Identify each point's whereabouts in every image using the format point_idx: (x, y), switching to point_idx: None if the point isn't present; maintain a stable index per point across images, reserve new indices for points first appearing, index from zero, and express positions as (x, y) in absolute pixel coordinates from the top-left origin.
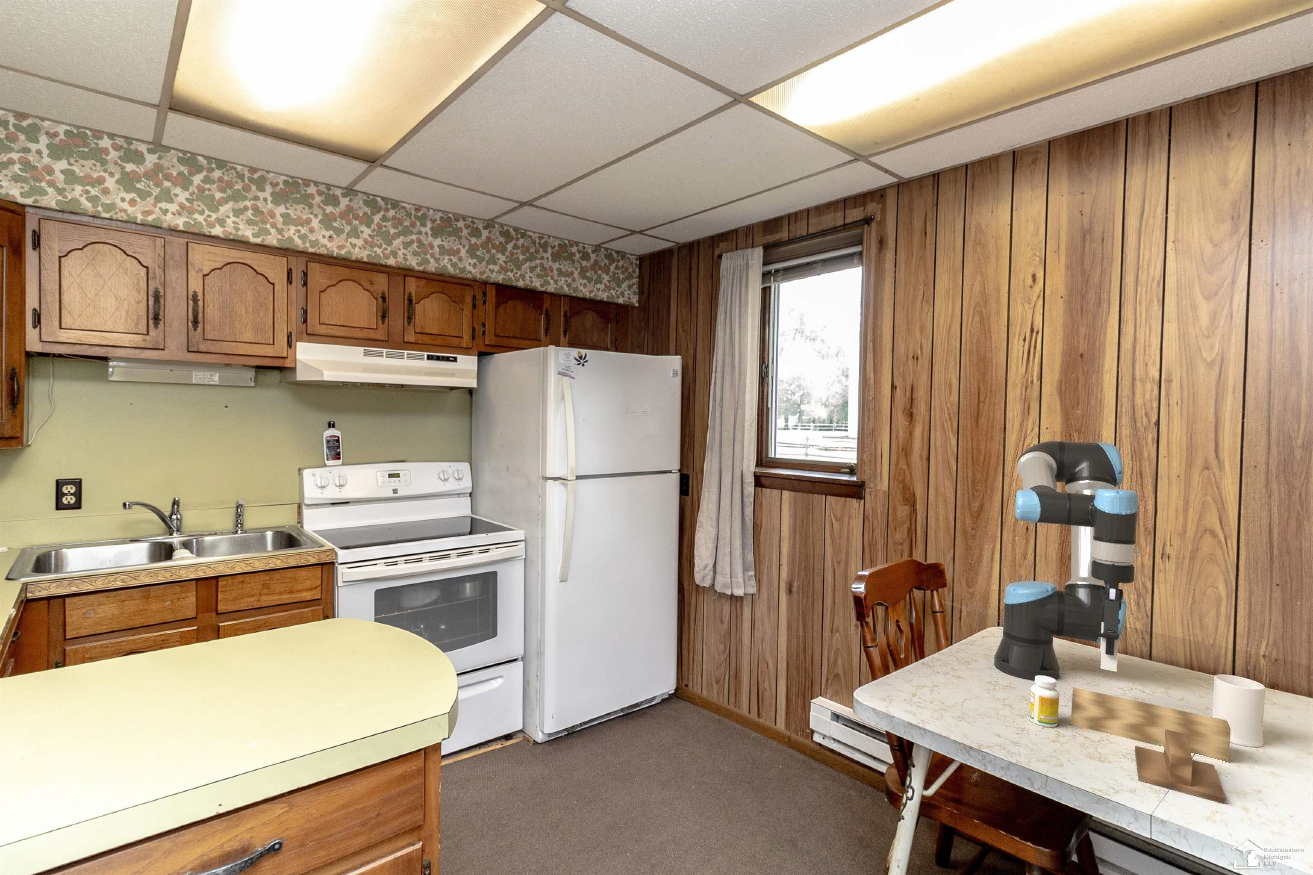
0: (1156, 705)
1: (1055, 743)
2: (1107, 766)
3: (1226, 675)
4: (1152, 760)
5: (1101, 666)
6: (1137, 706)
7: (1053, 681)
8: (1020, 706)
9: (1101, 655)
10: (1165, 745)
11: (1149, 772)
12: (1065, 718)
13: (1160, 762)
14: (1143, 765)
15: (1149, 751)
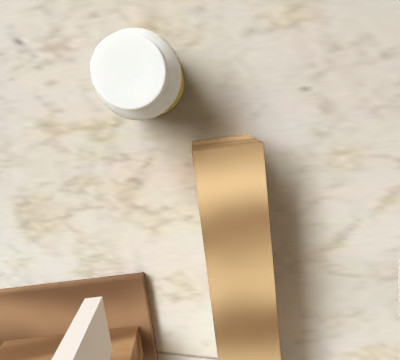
0: (277, 348)
1: (35, 131)
2: (5, 238)
3: None
4: None
5: (82, 307)
6: (227, 311)
7: (119, 101)
8: (224, 5)
9: (61, 341)
10: None
11: (13, 311)
12: (226, 123)
13: None
14: (40, 299)
15: (131, 303)
